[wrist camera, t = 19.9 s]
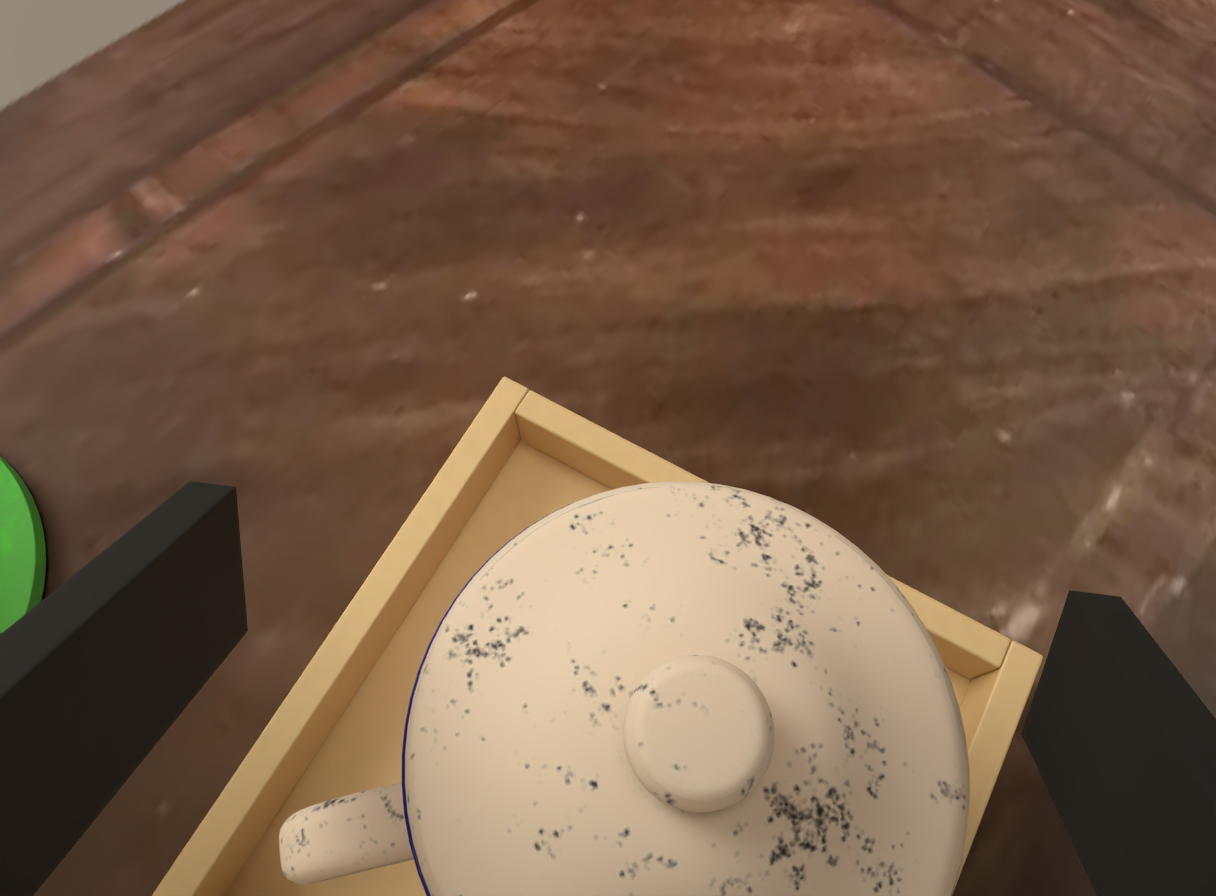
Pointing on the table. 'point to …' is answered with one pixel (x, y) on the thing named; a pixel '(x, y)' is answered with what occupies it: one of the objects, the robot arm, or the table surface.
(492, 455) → the wooden tray
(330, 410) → the table surface
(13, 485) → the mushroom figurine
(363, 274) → the table surface
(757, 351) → the table surface
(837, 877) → the teacup with lid
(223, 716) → the table surface
